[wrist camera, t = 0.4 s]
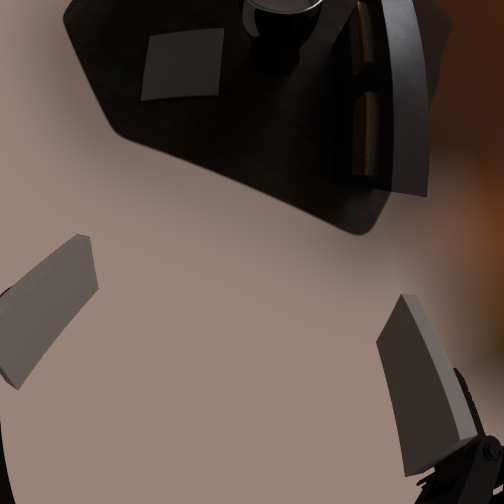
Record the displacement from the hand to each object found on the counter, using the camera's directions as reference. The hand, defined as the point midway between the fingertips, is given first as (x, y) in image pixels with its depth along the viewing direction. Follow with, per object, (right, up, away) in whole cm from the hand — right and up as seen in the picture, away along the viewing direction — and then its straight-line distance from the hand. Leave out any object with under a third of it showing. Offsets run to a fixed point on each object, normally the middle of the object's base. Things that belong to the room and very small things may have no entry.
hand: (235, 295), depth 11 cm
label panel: (+12, +19, +18) cm, 29 cm away
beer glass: (+3, +26, +17) cm, 31 cm away
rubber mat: (-8, +25, +17) cm, 32 cm away
